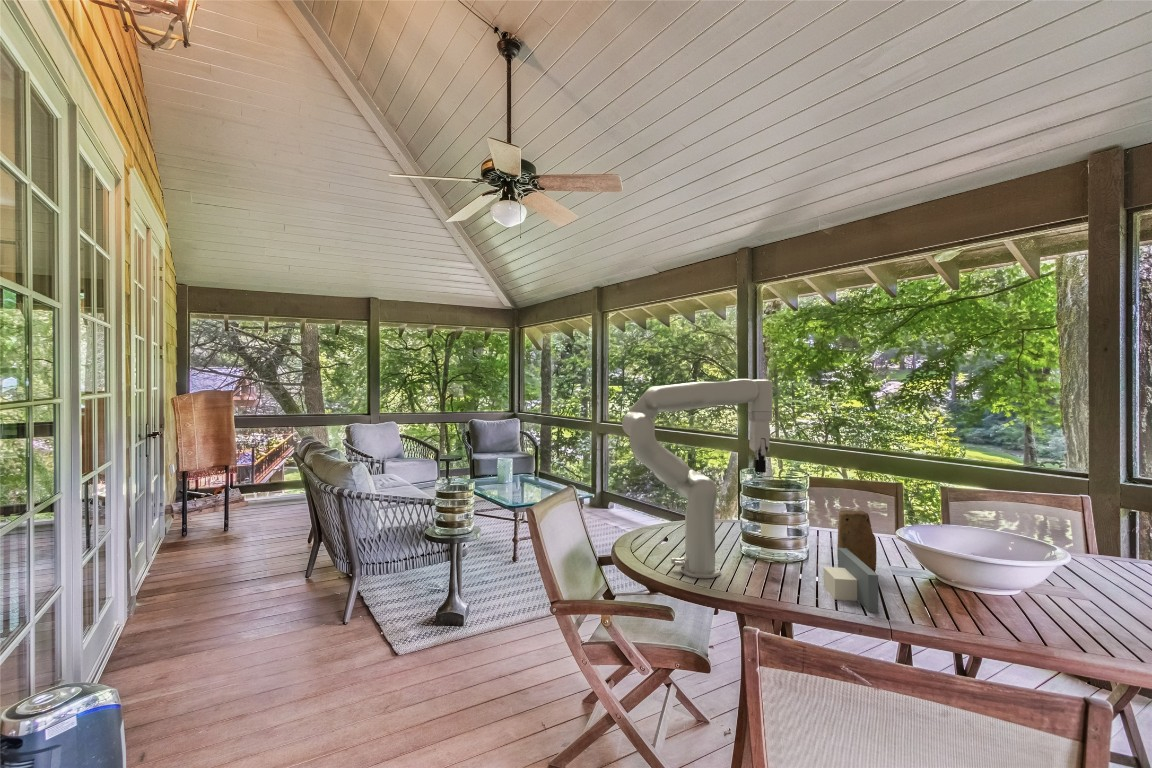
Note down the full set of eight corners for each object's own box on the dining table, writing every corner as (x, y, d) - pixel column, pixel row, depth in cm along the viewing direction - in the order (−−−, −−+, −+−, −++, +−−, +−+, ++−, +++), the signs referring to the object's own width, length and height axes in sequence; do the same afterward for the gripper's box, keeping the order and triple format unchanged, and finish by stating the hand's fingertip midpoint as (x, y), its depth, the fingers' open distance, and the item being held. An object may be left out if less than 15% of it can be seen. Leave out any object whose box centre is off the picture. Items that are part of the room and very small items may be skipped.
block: (839, 575, 171) (839, 512, 171) (836, 567, 178) (836, 507, 178) (878, 579, 168) (877, 515, 168) (873, 571, 175) (873, 510, 175)
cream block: (834, 599, 152) (834, 578, 152) (823, 586, 162) (823, 567, 162) (857, 601, 151) (857, 579, 151) (844, 587, 161) (844, 567, 161)
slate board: (868, 612, 144) (868, 574, 144) (837, 579, 167) (837, 547, 167) (878, 612, 143) (878, 575, 143) (846, 580, 167) (846, 548, 167)
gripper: (744, 415, 185) (744, 468, 185) (752, 418, 171) (752, 475, 171) (767, 415, 184) (767, 468, 184) (777, 418, 170) (777, 476, 170)
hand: (760, 471), depth 177 cm, fingers closed
